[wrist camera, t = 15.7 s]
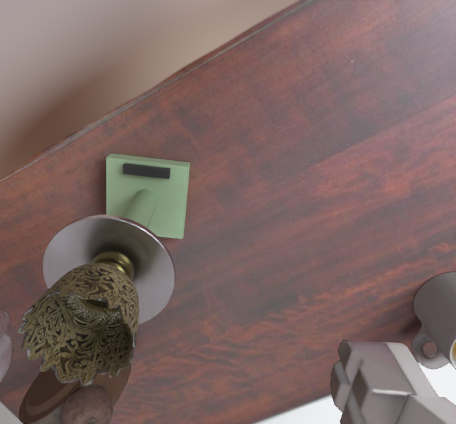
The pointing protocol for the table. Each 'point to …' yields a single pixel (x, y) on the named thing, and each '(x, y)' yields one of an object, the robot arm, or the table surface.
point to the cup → (84, 323)
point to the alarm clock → (72, 399)
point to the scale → (148, 192)
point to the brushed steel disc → (115, 256)
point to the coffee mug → (436, 320)
